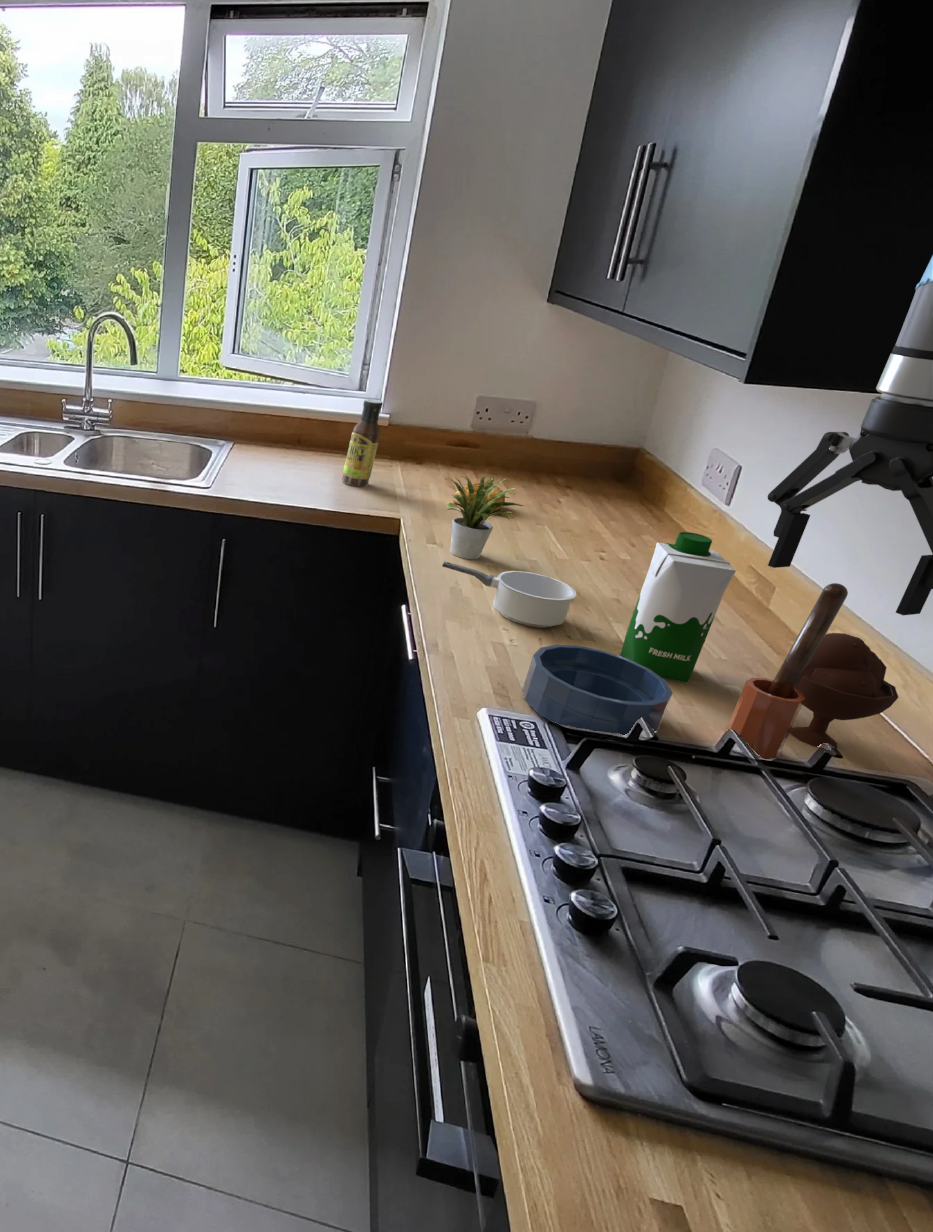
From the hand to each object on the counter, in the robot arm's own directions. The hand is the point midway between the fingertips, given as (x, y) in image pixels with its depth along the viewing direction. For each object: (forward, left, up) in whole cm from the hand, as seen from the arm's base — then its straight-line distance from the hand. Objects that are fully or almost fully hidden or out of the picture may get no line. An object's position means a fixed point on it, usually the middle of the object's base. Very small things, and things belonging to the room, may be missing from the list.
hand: (839, 588), depth 100 cm
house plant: (+66, +8, -23) cm, 70 cm away
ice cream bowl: (+4, -10, -23) cm, 25 cm away
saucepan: (+42, +13, -23) cm, 49 cm away
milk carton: (+22, -1, -23) cm, 32 cm away
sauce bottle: (+111, +12, -23) cm, 114 cm away
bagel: (+99, -12, -23) cm, 102 cm away
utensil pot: (+1, +1, -23) cm, 23 cm away
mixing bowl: (+9, +17, -23) cm, 30 cm away
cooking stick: (+1, +1, -22) cm, 22 cm away
